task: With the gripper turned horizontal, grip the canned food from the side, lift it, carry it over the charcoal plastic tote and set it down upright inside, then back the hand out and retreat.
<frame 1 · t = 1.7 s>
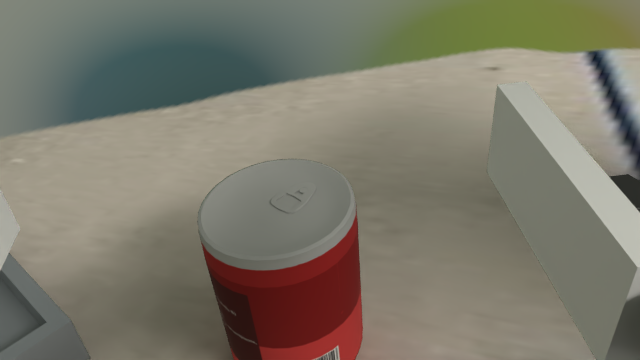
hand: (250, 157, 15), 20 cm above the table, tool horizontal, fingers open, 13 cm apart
canned food: (299, 346, 35), on the table
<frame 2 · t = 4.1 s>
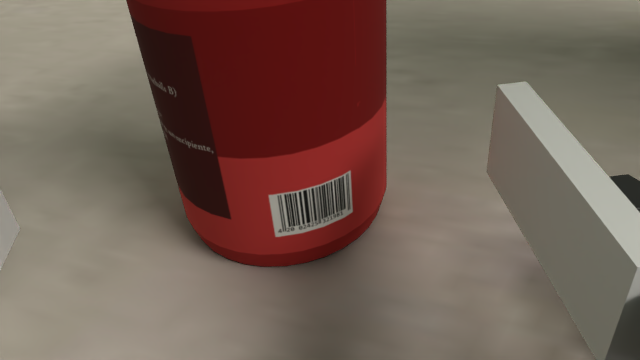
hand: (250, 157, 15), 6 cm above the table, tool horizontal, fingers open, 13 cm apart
canned food: (289, 206, 23), on the table
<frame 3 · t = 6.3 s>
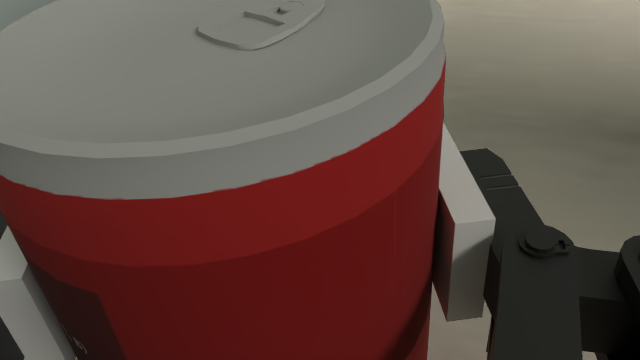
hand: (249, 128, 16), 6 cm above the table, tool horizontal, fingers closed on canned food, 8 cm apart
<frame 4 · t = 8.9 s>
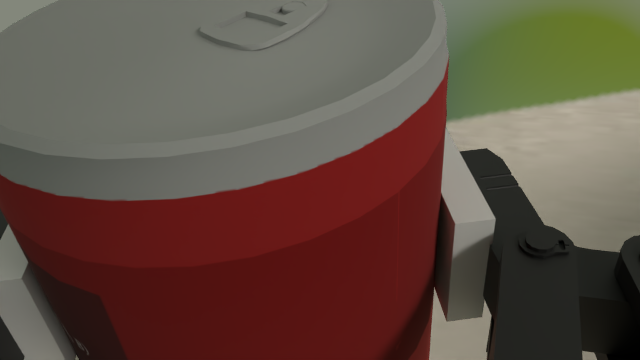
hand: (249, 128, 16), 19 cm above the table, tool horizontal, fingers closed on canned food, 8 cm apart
when the fingers open (9 cm above the table, at t = 11.7 s): canned food drops 2 cm, resting on tote.
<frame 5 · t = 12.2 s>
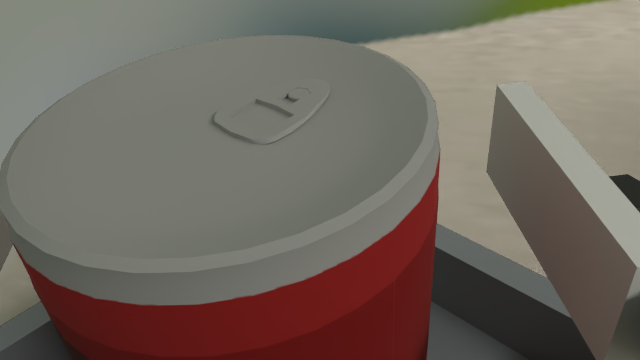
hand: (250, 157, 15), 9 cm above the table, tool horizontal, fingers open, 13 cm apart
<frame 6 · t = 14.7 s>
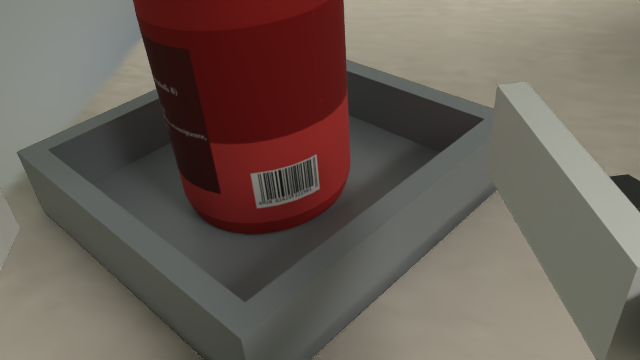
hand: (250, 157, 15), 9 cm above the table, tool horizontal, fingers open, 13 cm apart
tote: (273, 195, 28), on the table
canned food: (270, 187, 28), point 1 cm above the table, touching tote
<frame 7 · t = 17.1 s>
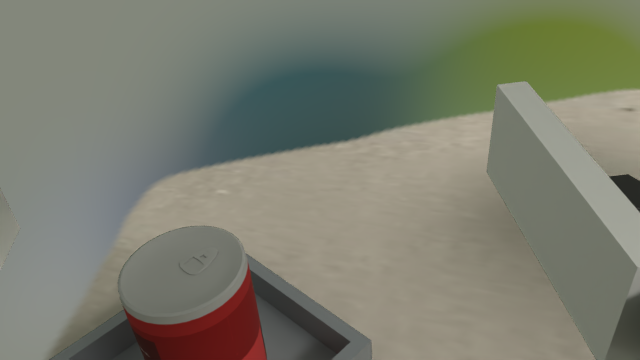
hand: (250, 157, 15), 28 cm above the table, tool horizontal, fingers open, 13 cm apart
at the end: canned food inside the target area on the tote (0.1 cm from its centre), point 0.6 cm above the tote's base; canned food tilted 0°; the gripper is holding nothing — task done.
